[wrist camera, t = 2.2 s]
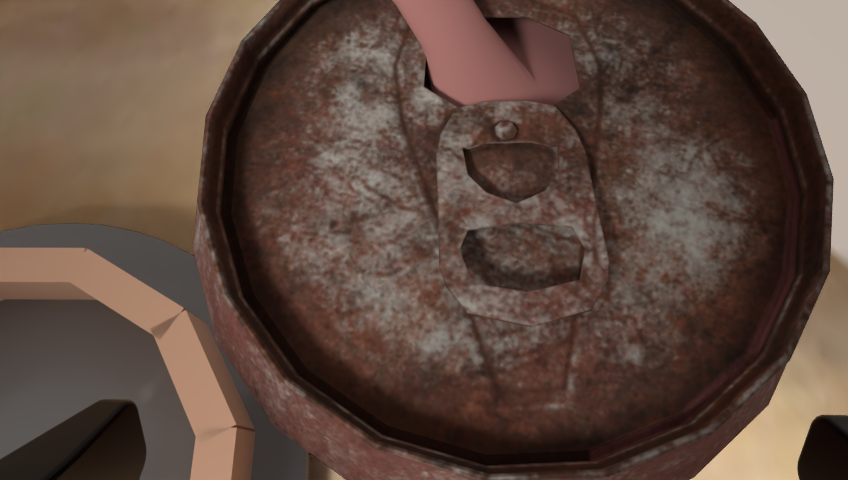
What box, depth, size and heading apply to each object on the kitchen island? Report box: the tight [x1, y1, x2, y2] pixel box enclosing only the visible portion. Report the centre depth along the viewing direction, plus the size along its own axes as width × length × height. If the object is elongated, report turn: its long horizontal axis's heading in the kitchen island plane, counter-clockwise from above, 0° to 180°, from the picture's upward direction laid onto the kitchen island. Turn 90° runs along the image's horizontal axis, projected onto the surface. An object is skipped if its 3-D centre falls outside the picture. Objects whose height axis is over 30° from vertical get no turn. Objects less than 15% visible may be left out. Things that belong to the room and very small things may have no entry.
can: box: [193, 0, 833, 480], centre depth 12 cm, size 6×6×14 cm
